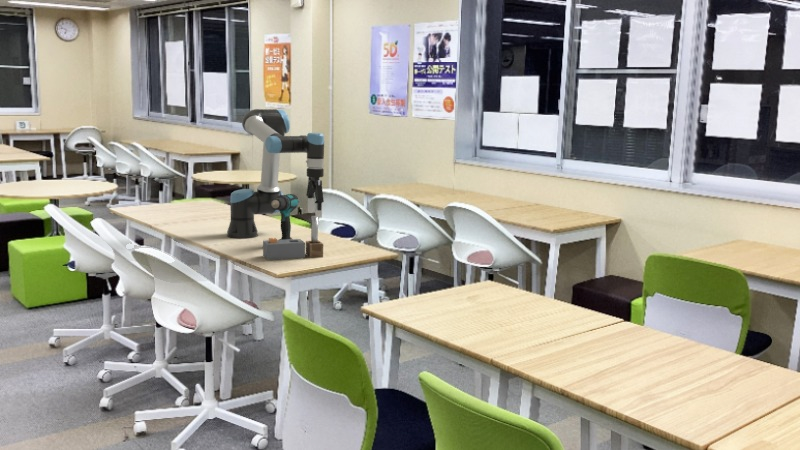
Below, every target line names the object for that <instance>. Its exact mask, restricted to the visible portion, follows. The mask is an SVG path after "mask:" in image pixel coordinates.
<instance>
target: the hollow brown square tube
mask: <svg viewBox="0 0 800 450" xmlns="http://www.w3.org/2000/svg"><path fill="white" fill-rule="evenodd" d="M305 255H306V256H308V257H309V258H323V257H324V243H323V242H321V241H320V240H319V239H318V243H313V244H311V240H306V241H305Z"/></svg>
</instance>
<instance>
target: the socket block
mask: <svg viewBox="0 0 800 450" xmlns="http://www.w3.org/2000/svg"><path fill="white" fill-rule="evenodd" d="M262 257H263V258H264V259H265V260H266V261H279V260H280V261H281V260H294V259H295V260H296V259H305V258H306V241H304V240H302V239H301V238H292V239H286V240H279V239H277V243H269V239H268V240H265V239H264V240H262Z"/></svg>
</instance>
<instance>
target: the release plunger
mask: <svg viewBox="0 0 800 450" xmlns="http://www.w3.org/2000/svg"><path fill="white" fill-rule="evenodd" d="M268 240H269V243H277V240H278V239H277V238H276V237H271V238H268Z"/></svg>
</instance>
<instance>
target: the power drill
mask: <svg viewBox="0 0 800 450" xmlns="http://www.w3.org/2000/svg"><path fill="white" fill-rule="evenodd" d="M299 203H300V201H299V197H298V196H297V195H296V194H294V193H288V194H283V195H280V196H278V197H277V198H274V199H273V200H272V201H271V207H272V208H273V209H276V210H279V213H280V232H281V238H280V239H278V240H286V239H293V237H291V231H292V230H291V229H292V225H291V213H292V212H293V211H294V210H295V209H297V208H298V206H299Z"/></svg>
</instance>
